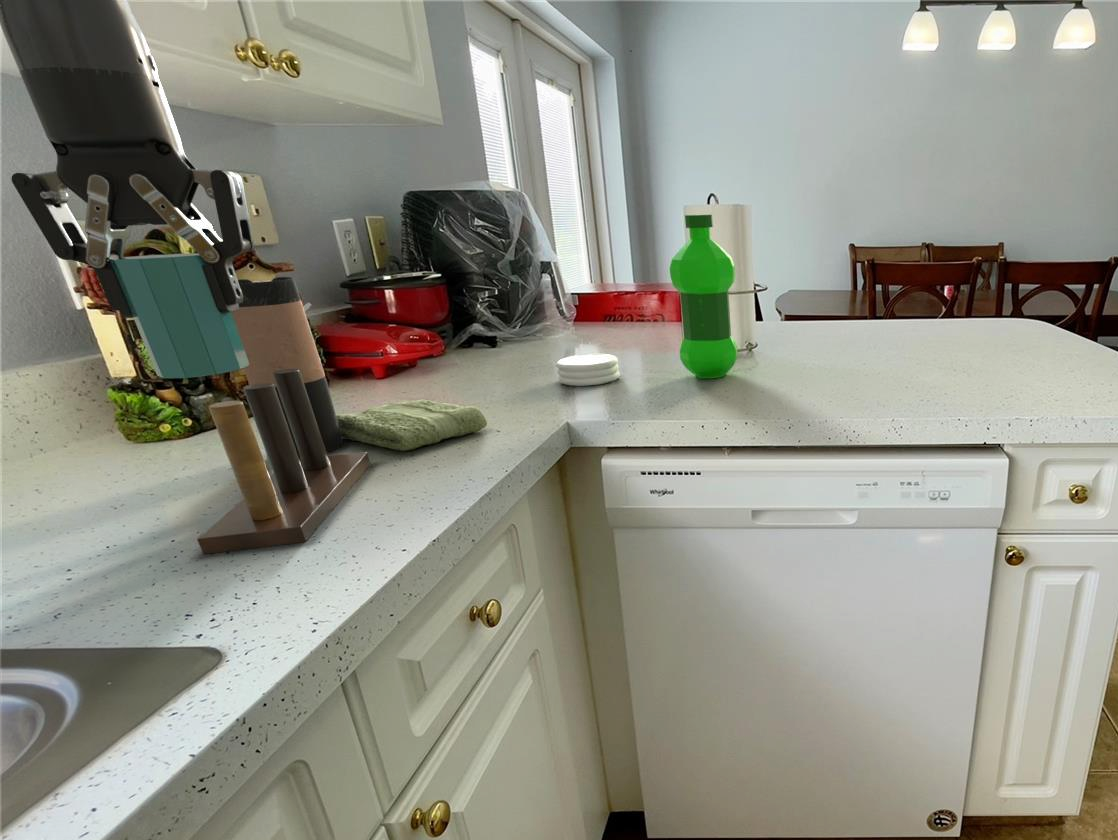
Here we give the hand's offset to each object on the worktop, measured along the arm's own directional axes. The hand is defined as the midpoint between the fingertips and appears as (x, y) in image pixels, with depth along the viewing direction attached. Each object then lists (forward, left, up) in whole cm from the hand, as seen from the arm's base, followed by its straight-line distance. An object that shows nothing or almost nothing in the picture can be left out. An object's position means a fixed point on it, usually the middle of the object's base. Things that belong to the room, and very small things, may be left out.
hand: (183, 313), depth 58 cm
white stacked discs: (+30, +54, -20) cm, 65 cm away
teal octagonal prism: (0, 0, -5) cm, 5 cm away
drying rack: (+1, +7, -20) cm, 21 cm away
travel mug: (-4, +27, -20) cm, 34 cm away
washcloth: (+7, +30, -20) cm, 36 cm away
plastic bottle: (+50, +50, -20) cm, 73 cm away
